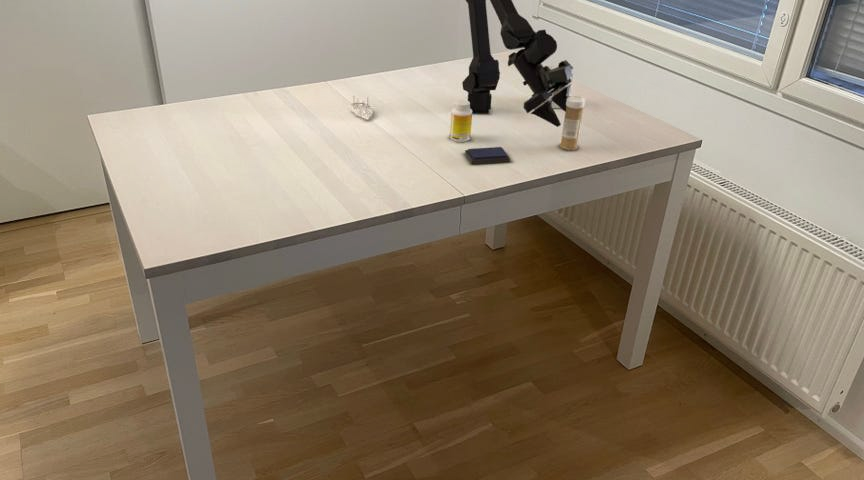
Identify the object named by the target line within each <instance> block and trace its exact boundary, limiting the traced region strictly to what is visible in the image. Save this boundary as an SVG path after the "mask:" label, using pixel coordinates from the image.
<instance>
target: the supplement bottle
mask: <svg viewBox="0 0 864 480" xmlns="http://www.w3.org/2000/svg"><path fill="white" fill-rule="evenodd" d="M450 112H451V113H450V129H449V137H450V139H451V140H452V141H454V142H456V143H457V142H458V143H464V142H468V141H469V140H470V139H471V136H472V135H471V133H472V123H473V113H472V110H471V109H470V102H469V101H468V99H466V100H465V99H457V100H456V101H454V107H453V108H452V109H451V111H450Z"/></svg>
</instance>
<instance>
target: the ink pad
mask: <svg viewBox="0 0 864 480" xmlns="http://www.w3.org/2000/svg"><path fill="white" fill-rule="evenodd" d="M464 155H465V156H466V158H467V161H468V162H469V163H470V164H471V165H486V164H501V163H502V164H504V163H510V161H511V157H510V155H508V153H507V152H506V151H505V149H504V148H503V147H502V146H495V147H494V146H493V147H491V146H490V147H477V148H468V149H465V150H464Z"/></svg>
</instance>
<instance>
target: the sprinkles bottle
mask: <svg viewBox="0 0 864 480" xmlns="http://www.w3.org/2000/svg"><path fill="white" fill-rule="evenodd" d="M585 104H586V99H585V98H584V97H582V96H578V95H570V97H568V98H567V101H566V112H565V114H564V119H563V126H562V131H561V140H560V145H559V147H560V148H561V149H562V150H566V151H574V150H577V149H578V143H579V137H580V134H581V133H580V132H581V124H582V118H583V111H584V107H585Z"/></svg>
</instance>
